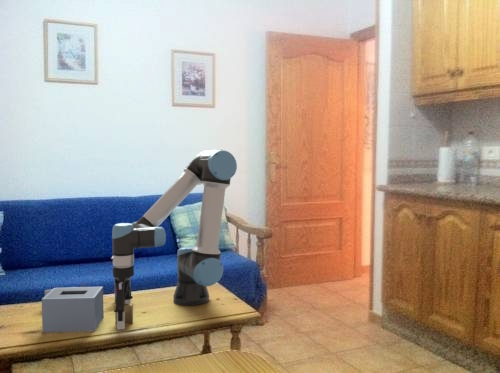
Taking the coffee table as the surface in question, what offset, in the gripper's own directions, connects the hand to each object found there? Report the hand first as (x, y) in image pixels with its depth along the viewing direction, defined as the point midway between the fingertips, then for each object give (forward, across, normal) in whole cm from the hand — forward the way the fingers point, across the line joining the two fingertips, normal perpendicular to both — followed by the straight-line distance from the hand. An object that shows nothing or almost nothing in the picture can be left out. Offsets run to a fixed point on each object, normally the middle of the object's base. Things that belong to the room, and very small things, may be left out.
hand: (124, 322), depth 175 cm
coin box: (0, 0, -18) cm, 18 cm away
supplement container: (0, -26, -5) cm, 26 cm away
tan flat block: (0, 0, 0) cm, 0 cm away
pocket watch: (0, -19, -18) cm, 26 cm away
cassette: (+1, -21, -29) cm, 36 cm away
